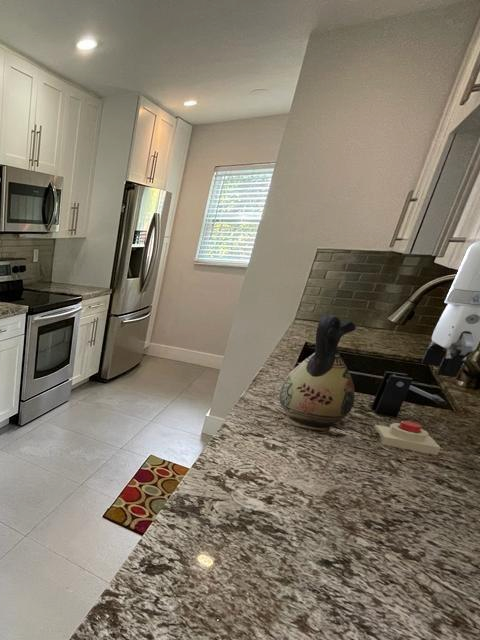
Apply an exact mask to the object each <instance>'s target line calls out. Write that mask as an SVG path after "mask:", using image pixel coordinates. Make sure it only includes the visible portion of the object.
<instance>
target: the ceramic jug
mask: <svg viewBox="0 0 480 640" xmlns="http://www.w3.org/2000/svg"><path fill="white" fill-rule="evenodd" d="M356 328H357V326H356V325H355V323H354V322H352V321H350V320H346V321H343V322H341V319H340V318H339V317H338V316H334V315H330V314H329V315H326V316H322V317H321V318H320V320H319V321H318V323H317V327H316V330H315V332H316V333H315V347H314V348H315V350H314V353H312V354H311V355H309V356H308V357H306V358H305V359H304V360H302V361H301V362H300V363H299V364H298V365H296V366H295V367H294V368H293V369H292V370H291V371H290V372H289V374H287V376H286V377H285V379H284V380H283V382H282V384H281V386H280V388H279V393H278V400H279V404H280V407H282V409H283V411H284V412H285V414H286V418H287V421H288V423H290V424H292V425H293V426H295V427H300V428H304V429H309V430H314V431H319V432H324V431H329V430H331V426H333V425H335V424H336V423H339V422H340V421H342V420H343V419H344V418H345V417H347V416H348V414H350V412H351V411H352V409H353V407H354V403H355V395H356V393H355V384H354V380H353V378H352V375H351V373H350V371H349V368H348V367H347V365H346V363H345V361H344V359H343V358H342V356H341V355H340V351H339V350H338V345H339V343H340V340H341V338H342V337H343V336H345V335H347V334H349V333H351V332H354V331H355V330H356ZM293 432H294V431H292V433H293Z"/></svg>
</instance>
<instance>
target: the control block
mask: <svg viewBox="0 0 480 640" xmlns="http://www.w3.org/2000/svg"><path fill="white" fill-rule="evenodd" d="M400 423H401V422H400ZM400 423H399V422H393V423H391V424H390V425H389V426H385V425H380V424H374V426H373V428H374V429H375V431H376V432H377V433H378V434H379V435H376V434H375V435H374V436H375V437H376V439H377V440H378V442H379V444H380V445H383V446H384V445H385V446H389V447H394V448H398V449H404V450H409V451H414V452H418V453H423V454H429V455H433V456H438V455H439V453H440V451H441V449H442V448H441V446H440V445H439V444H438V443H437V442H436V441H435V440H434V439H433V437H431V436H430V434H429V432H428V431H427V430H425V429H422V428H421V430H420V432H419V433H413V432H408V431H405V430H402V429H400V428H399V426H400Z"/></svg>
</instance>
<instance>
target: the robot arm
mask: <svg viewBox="0 0 480 640" xmlns="http://www.w3.org/2000/svg"><path fill="white" fill-rule="evenodd" d="M444 304H447V305H446V306H445V308H444V310H443V312H442V314H441V316H440V317H439V320H438V321H437V324H436V326H435V327H434V329H433V333H432V335H431V338H430V340H431V342H429V344H428V346H427V349H426V351H425V353H424V355H423V358H422V360H421V364H422V365H425V366H435V367H438V369H437V371H436V375H438V376H443V377H448V378H457V377H458V375H459V372H460V371H461V369H462V367H463V365H464V363H465V362H466V360H467V357H468V356H469V355H470V353H471V352H474V351H476V350H477V348H478V346H479V343H480V240H478V241H475V242H472V243H471V244H470V246H469V247H468V248H467V250H466V253H465V254H464V257H463V260H462V261H461V264H460V266H459V269H458V271H457V273H456V275H455V278H454V280H453V281H452V284H451V286H450V289H449V290H448V293H447V295H446V298H445V300H444Z"/></svg>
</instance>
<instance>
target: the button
mask: <svg viewBox="0 0 480 640" xmlns="http://www.w3.org/2000/svg"><path fill="white" fill-rule="evenodd" d="M422 427H423V426H422V425H421V424H420V423H416V422H414V421H411V420H410V421H409V420H401V421H400V426H399V428H400V429H402V430H405V431H408V432H413V433H419V432H420V430H421V429H422Z"/></svg>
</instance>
